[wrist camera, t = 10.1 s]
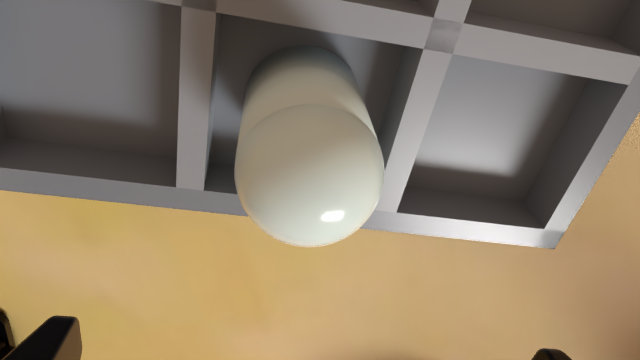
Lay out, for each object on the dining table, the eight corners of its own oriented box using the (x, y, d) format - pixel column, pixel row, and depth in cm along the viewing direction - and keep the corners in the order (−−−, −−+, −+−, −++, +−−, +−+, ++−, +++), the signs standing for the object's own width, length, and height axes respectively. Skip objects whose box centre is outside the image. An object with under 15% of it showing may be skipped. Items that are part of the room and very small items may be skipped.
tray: (-9, 150, 19) (-45, 185, 17) (-149, -496, 10) (-260, -589, 8) (529, 213, 23) (554, 249, 21) (763, -212, 14) (847, -224, 12)
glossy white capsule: (239, 143, 19) (221, 273, 13) (251, 35, 16) (235, 132, 10) (345, 157, 20) (375, 285, 14) (371, 55, 17) (421, 156, 11)
